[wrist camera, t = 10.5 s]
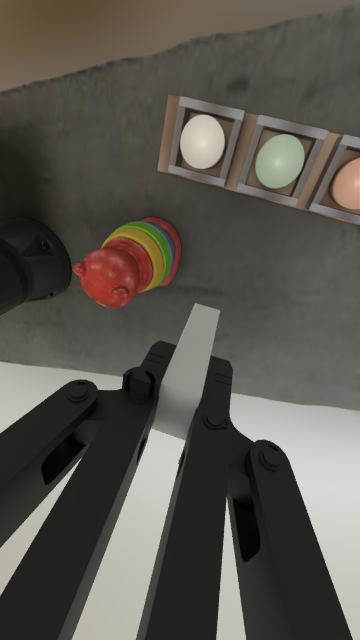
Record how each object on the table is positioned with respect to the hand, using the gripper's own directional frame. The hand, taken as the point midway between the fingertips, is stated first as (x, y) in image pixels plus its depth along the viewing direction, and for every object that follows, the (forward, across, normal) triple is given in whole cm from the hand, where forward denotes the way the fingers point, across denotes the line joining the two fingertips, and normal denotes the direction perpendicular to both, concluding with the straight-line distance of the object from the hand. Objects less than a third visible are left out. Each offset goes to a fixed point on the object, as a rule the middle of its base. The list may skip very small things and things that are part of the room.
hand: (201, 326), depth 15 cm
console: (+26, +3, +10) cm, 28 cm away
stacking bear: (+27, -11, -5) cm, 29 cm away
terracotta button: (+24, +12, +10) cm, 28 cm away
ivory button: (+25, -6, +10) cm, 27 cm away
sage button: (+24, +3, +10) cm, 26 cm away
